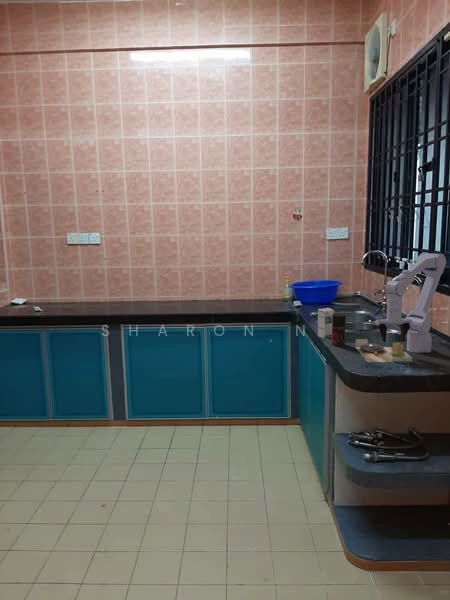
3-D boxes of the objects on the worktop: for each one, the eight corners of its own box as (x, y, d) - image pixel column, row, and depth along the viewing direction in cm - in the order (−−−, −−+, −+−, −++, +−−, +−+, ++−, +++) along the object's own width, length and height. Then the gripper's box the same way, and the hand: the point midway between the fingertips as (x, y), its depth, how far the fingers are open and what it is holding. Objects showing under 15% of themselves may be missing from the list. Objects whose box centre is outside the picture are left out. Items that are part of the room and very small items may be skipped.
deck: (395, 348, 199) (395, 346, 198) (412, 363, 177) (413, 361, 177) (355, 348, 200) (355, 346, 200) (367, 363, 178) (367, 361, 178)
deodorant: (346, 347, 202) (347, 316, 199) (334, 348, 201) (334, 316, 199) (342, 344, 207) (343, 313, 205) (329, 344, 207) (330, 313, 204)
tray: (405, 356, 185) (405, 352, 184) (411, 362, 177) (411, 357, 177) (386, 356, 185) (386, 352, 185) (392, 361, 178) (392, 357, 177)
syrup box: (324, 339, 217) (324, 310, 215) (317, 336, 223) (317, 308, 220) (333, 337, 219) (334, 309, 217) (326, 335, 225) (327, 307, 222)
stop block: (398, 356, 183) (398, 342, 182) (402, 358, 181) (403, 344, 180) (392, 357, 183) (392, 343, 182) (396, 359, 180) (397, 345, 179)
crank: (353, 346, 200) (353, 336, 199) (380, 346, 199) (381, 336, 198) (359, 354, 187) (359, 344, 187) (388, 354, 186) (388, 344, 185)
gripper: (407, 307, 186) (406, 338, 188) (373, 308, 186) (372, 339, 188) (415, 310, 179) (413, 342, 181) (379, 311, 179) (378, 343, 181)
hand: (393, 341), depth 184 cm, fingers open, 7 cm apart
